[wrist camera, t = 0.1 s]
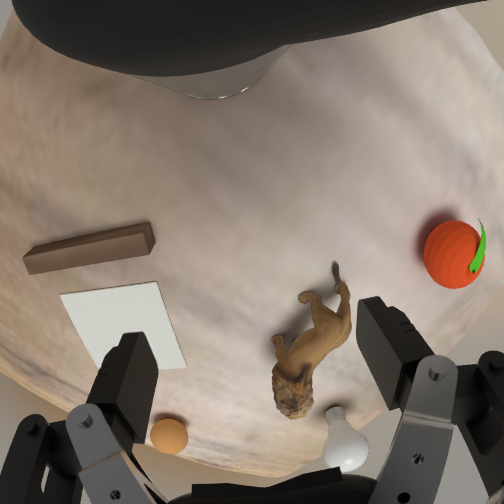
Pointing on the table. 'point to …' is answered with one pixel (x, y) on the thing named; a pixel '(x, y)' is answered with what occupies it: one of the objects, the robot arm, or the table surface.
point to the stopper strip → (91, 249)
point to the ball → (169, 436)
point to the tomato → (454, 254)
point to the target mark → (124, 321)
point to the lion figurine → (309, 352)
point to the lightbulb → (343, 443)
